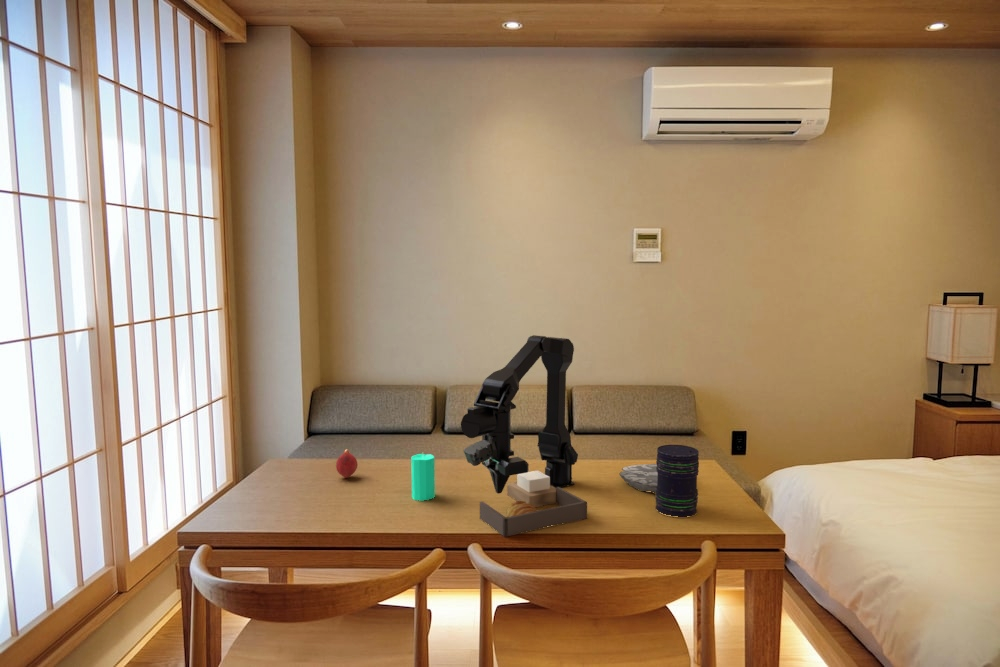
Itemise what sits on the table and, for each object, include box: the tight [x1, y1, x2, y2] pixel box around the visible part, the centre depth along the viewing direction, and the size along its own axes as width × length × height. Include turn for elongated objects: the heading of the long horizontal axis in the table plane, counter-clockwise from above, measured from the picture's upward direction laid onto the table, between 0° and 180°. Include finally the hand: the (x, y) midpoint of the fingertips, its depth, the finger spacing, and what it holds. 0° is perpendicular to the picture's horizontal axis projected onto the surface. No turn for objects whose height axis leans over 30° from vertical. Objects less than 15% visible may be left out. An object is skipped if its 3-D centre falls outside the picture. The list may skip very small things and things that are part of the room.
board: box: [506, 481, 557, 508], centre depth 172 cm, size 9×11×3 cm
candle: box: [410, 453, 436, 502], centre depth 172 cm, size 6×6×12 cm
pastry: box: [506, 500, 538, 517], centre depth 157 cm, size 9×7×4 cm
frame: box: [479, 487, 588, 538], centre depth 158 cm, size 22×12×4 cm, turn 118°
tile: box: [516, 469, 550, 492], centre depth 171 cm, size 6×6×3 cm
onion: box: [335, 449, 358, 479], centre depth 187 cm, size 6×6×8 cm
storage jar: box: [655, 444, 700, 517], centre depth 163 cm, size 10×10×15 cm
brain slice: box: [618, 463, 658, 494], centre depth 183 cm, size 20×17×3 cm
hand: (498, 492), depth 163 cm, fingers closed
